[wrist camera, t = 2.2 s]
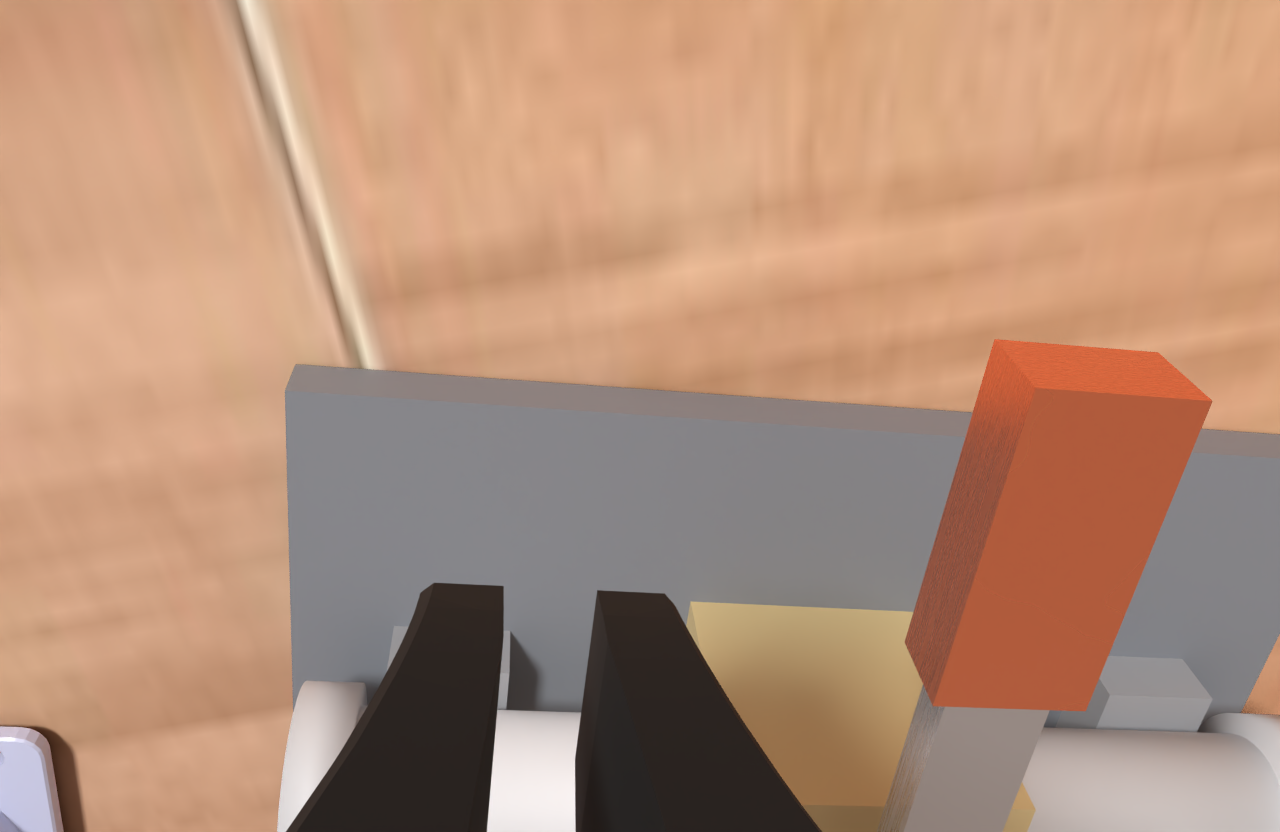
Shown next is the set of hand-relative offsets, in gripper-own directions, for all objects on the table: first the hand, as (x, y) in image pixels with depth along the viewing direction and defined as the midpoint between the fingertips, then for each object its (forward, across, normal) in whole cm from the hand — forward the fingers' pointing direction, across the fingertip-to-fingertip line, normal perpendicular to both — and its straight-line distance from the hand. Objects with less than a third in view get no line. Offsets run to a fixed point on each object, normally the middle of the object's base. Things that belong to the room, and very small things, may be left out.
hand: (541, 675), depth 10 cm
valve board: (+10, -6, +9) cm, 15 cm away
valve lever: (+3, -6, +4) cm, 8 cm away
